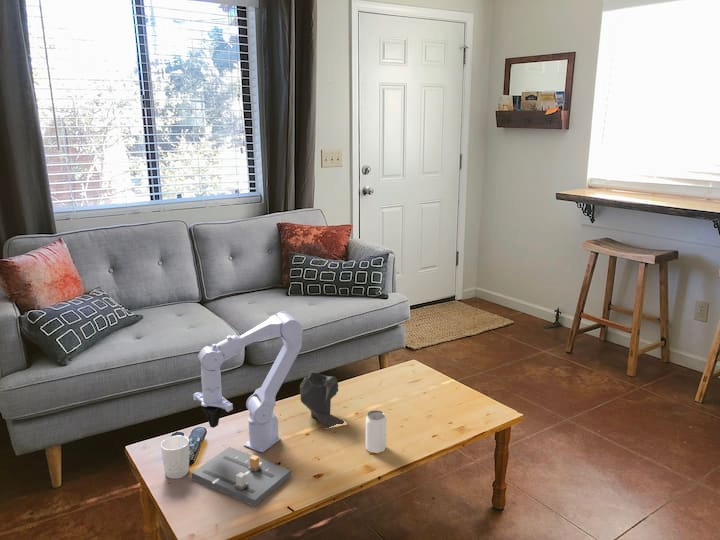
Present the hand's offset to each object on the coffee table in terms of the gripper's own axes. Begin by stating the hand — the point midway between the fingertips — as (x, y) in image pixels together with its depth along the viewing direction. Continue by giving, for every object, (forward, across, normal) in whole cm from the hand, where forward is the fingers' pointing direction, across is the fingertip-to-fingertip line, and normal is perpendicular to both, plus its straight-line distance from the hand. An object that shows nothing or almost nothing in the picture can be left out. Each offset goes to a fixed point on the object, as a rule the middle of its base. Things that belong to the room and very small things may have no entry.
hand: (214, 425), depth 182 cm
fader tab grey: (+7, +20, -11) cm, 24 cm away
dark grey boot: (+10, +15, +36) cm, 40 cm away
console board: (+10, +15, -5) cm, 19 cm away
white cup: (+10, -3, -13) cm, 17 cm away
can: (+10, +41, +29) cm, 51 cm away
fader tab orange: (+8, +18, -2) cm, 19 cm away
